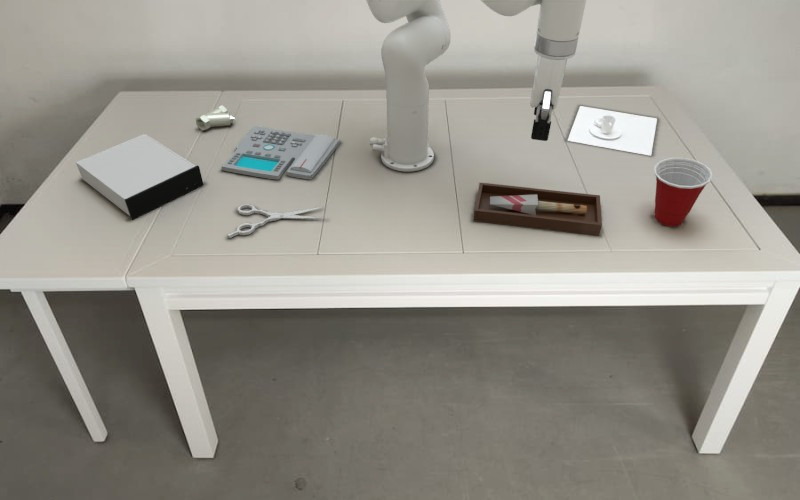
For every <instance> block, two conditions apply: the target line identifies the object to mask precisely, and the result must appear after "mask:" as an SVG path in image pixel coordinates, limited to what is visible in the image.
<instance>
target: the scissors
mask: <svg viewBox="0 0 800 500" xmlns="http://www.w3.org/2000/svg"><path fill="white" fill-rule="evenodd" d="M245 208H246V209H247V208H250V209H249V210H242V209H245ZM322 208H323V206H321V207H314V208H306V209H299V210H294V211H288V212H271V211H265V210H264V209H257V208H256V206H254V205H253V204H249V203H244V204H241V205H239V206H238V207H237V212H238V214H239V215H243V216H250V215H252V214H261V215H262V216H265V217H266V218H265V219H264V220H262V221H259V222H254V223H250V222H244V223H241V224H240V225H238V226H237V228H236V230H234V231H233V232H230V233H228V234H227V237H228V239H232V238H233V237H235V236H238V235H240V236H247V235H250V234H252V233H254V232H255V230H256V229H258V228H259V227H263V226H264V225H266V224H267V223H269V222H274V221H278V220H280V219H293V220H294V219H297V220H298V219H300V220H301V219H303V220H304V219H317V220H321V217H320V216H308V215H299V214H304V213H306V212H307V213H308V212H310V211H314V210H318V209H322ZM245 228H249V229H248V230H242V229H245Z"/></svg>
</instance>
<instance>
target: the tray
mask: <svg viewBox="0 0 800 500" xmlns="http://www.w3.org/2000/svg"><path fill="white" fill-rule="evenodd" d="M536 194H537V197H538V201H544V202H553V203H563V204H573V205H583V206H587V212H586V214H578V213H566V212H557V211H547V210H537V209H535V210H536V215H531V214H527V213H523V212H519V211H515V210H511V209H507V208H503V207H499V206H495V205H491V204H490V197H493V196H514V195H536ZM475 199H476V200H475V204H474V209H473V222H479V223H488V224H495V225H502V226H503V225H504V226H513V227H521V228H530V229H539V230H545V231H554V232H555V231H556V232H564V233H572V234H580V235H581V234H582V235H589V236H597V237H599V236H600V234H601V230H602V227H603V218H602V205H601V204H602V203H601V195H600V194H590V193H582V192H571V191H564V190H563V191H561V190H554V189H543V188H535V187H528V186H527V187H525V186H516V185H507V184H498V183H489V182H479V183H478V189H477V194H476V198H475Z"/></svg>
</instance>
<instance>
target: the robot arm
mask: <svg viewBox="0 0 800 500" xmlns="http://www.w3.org/2000/svg"><path fill="white" fill-rule="evenodd" d="M365 1H366V3H367V5H368V7H369V8H368V9H369V10H370V12H371V14H372V16H373V17H374V19H376V20H377V22H379V23H382V24H390V23H394V22H396V21H399V20H401V19H403V18H405V17H406V20H407V22H405V23H404V24H402V25H400V26H398V27H397V28H394V30H392V31H391V32H390V33H388V35H386V37H385V38H384V40H383V41H382V44H381V48H380V56H381V60H382V66H383V70H384V76H385V77H384V78H385V93H386V95H385V96H386V136H387V137H383V138H379V137H373V136H371V137H370V139H369V145H370V146H372V151H381V153H380V159H381V162H382V163H383V165H385V166H386V167H387V168H389V169H391V170H394V171H397V172H405V173H410V172H417V171H422V170H424V169H426V168H428V167H430V166H431V165H432V164H433V162H434V160H435V153H434V150H433V148H431V147H430V146H429V116H430V115H429V114H430V86H429V85H430V84H429V81H428V79H427V76H426V73H425V68H426V66H427V65H429V64H430V63H431V62H433V61H434V60H437V59H438V58H440V57H441V56H443V54H445V53H446V52H447V50H448V49H449V48H450V44H451V38H452V35H451V29H450V25H449V22H448V19H447V16H446V14H445V11H444V8H443V5H442V3H441V0H365ZM480 1H481V2H482V3H483V4H484V5H485V6H486V7H487V8H489V9H490V10H491V11H492V12H495V13H496V14H498V15H500V16H504V17H514V16H517V15H519V14H521V13H523V12H525V11H526V10H528V9H529V8H530V7H534V6H538V5H540V7H539V13H538V18H537V27H536V31H535V32H536V33H535V38H534V43H533V44H534V45H533V52H534V53H535V54H536V55H537V57H536V62H535V63H536V64H535V68H534V75H533V81H532V87H531V88H532V89H531V94H530V102H529V106H530V107H531V108H533V109H534V111H533V115H534V116H535V118H534V119H533V122H532V123H533V124H532V129H531V135H530V139H531V140H534V141H544V142H547V141H548V140H549V136H550V131H551V126H552V121H551V118H552V114H553V111H554V110H556V108H557V106H558V101H559V98H560V96H561V95H560V94H561V91H562V87H563V81H564V77H565V73H566V68H567V64H568V63H567V62H568V59H572V58H573V57H574V56H575V55H576V51H577V47H578V42H579V37H580V33H581V27H582V22H583V18H584V14H585V8H586V4H587V0H480Z"/></svg>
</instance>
